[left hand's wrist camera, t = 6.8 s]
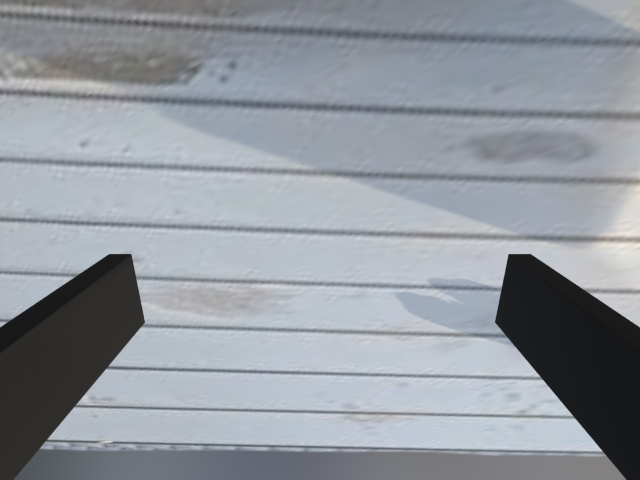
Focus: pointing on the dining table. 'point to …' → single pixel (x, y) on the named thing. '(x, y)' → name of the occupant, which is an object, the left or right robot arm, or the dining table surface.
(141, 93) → the dining table surface
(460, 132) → the dining table surface
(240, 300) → the dining table surface
